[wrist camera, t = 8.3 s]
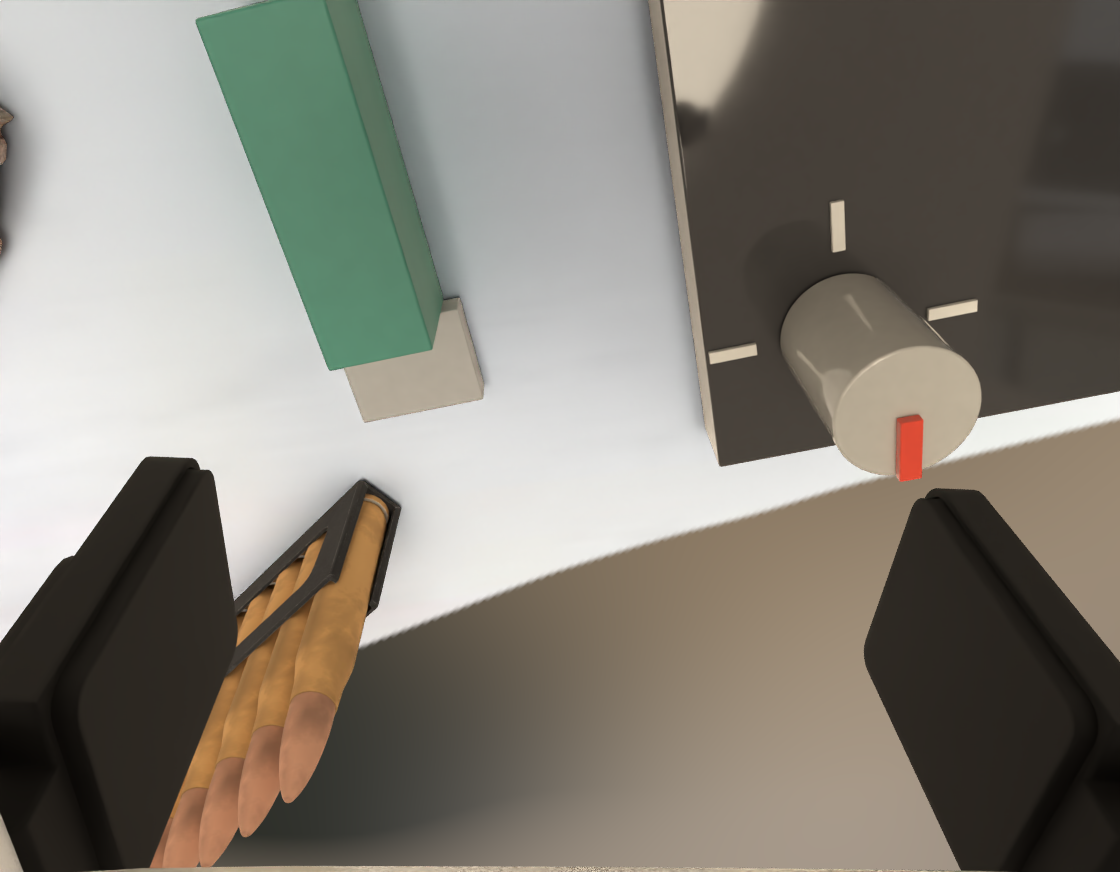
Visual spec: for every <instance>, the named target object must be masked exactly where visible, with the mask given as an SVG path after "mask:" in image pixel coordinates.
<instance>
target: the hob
mask: <svg viewBox="0 0 1120 872" xmlns="http://www.w3.org/2000/svg"><path fill="white" fill-rule="evenodd" d="M648 4H649V11H650V19H651V26H652V34H653V41H654V49H655V56H656V64H657V71H658V79H659V86H660V94H661V101H662V109H663V116H664V124H665V131H666V139H667V146H668V154H669V161H670V169H671V176H672V183H673V191H674V198H675V206H676V213H677V221H678V228H679V236H680V243H681V251H682V258H683V266H684V273H685V281H686V288H687V296H688V303H689V311H690V318H691V326H692V333H693V340H694V348H695V355H696V363H697V370H698V378H699V385H700V393H701V400H702V408H703V415H704V423H705V429H706V432H707V434H708V437H709V440H710V442H711V445H712V448H713V451H714V453H715V456H716V459H717V461H718V464H719V466H721V467H723V466H728V465H733V464H738V463H744V462H749V461H754V460H759V459H765V458H770V457H775V456H781V455H786V454H791V453H796V452H802V451H807V450H812V449H817V448H823V447H828V446H833V445H836V444H835V442H834V441H833V439H832V438H831V436H830V434H829V433H828V431H827V429H826V428H825V426H824V425H823V423H822V421H821V420H820V418H819V416H818V415H817V413H816V411H815V410H814V408H813V407H812V405H811V403H810V402H809V400H808V398H807V397H806V395H805V394H804V392H803V390H802V389H801V387H800V385H799V384H798V382H797V381H796V379H795V377H794V376H793V374H792V372H791V371H790V369H789V367H788V366H787V364H786V362H785V360H784V358H783V355H782V351H781V345H780V337H781V330H782V326H783V323H784V320H785V318H786V315H787V313H788V312H789V310H790V308H791V307H792V305H793V304H794V303H795V301H796V300H797V299H798V298H799V297H800V296H801V295H802V294H803V293H804V292H805V291H807V290H808V289H809V288H811V287H812V286H814V285H815V284H817V283H819V282H821V281H823V280H825V279H827V278H830V277H833V276H837V275H842V274H856V273H857V274H865V275H869V276H873V277H875V278H877V279H880V280H881V281H883V282H885V283H886V284H887V285H888V286H890V287H891V288H892V289H893V290H894V291H895V292H896V293H897V294H898V295H899V296H900V297H901V298H902V299H903V300H904V301H905V302H906V303H907V304H908V305H909V306H911V307H912V308H913V309H914V310H915V311H916V312H917V313H918V314H919V315H920V316H921V317H922V318H923V319H924V320H925V321H926V322H927V323H928V324H929V325H930V326H931V327H932V328H933V329H934V330H935V331H937V332H938V333H939V334H940V335H941V336H942V337H943V338H944V339H945V340H946V341H947V342H948V343H949V344H950V345H951V346H952V347H953V348H954V349H955V350H956V351H957V352H958V353H959V354H960V355H962V356H963V357H964V358H965V359H966V360H967V361H968V362H969V363H970V365H971V366H972V367H973V368H974V370H975V372H976V374H977V376H978V379H979V381H980V386H981V407H980V411H979V415H978V418H981V417H986V416H992V415H997V414H1002V413H1007V412H1013V411H1018V410H1023V409H1028V408H1034V407H1039V406H1044V405H1050V404H1055V403H1060V402H1065V401H1071V400H1076V399H1081V398H1086V397H1092V396H1097V395H1102V394H1108V393H1113V392H1118V391H1120V0H648Z"/></svg>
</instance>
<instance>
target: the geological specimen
mask: <svg viewBox="0 0 1120 872" xmlns="http://www.w3.org/2000/svg"><path fill="white" fill-rule="evenodd" d="M12 119H13V116H12V115H10V114H9V113H8V112H6V111H5V110H4V109H2V108H1V107H0V165H1V164H3V163H4V161H5V160H6V151H7V143H6V141H5V140H4V138H3V136H2V134H1V127H2V126H3V125H4V124H6V123H8V122H9V121H11V120H12ZM1 248H2V241H1V238H0V253H1Z"/></svg>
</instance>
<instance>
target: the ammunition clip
mask: <svg viewBox="0 0 1120 872" xmlns="http://www.w3.org/2000/svg"><path fill="white" fill-rule="evenodd" d="M400 511H401V507H399V506H398V505H397V504H395V503H394V502H393V501H391V500H390V499H388V498H387V497H386V496H384V495H383V494H381V493H380V492H379V491H377V490H376V489H374V488H373V487H372V486H370V485H369V484H368V483H366V482H365V481H358V482H357V483H356V484H355V485H354V486H353V487H352V488H351V489H350V490H349V491H348V492H347V493H346V494H345V495H344V496H343V497H342V498H341V499H339V500H338V501H337V502H336V503H335V504H334V505H333V506H332V507H331V508H330V509H329V510H328V511H327V512H326V513H325V514H324V515H323V516H322V517H321V518H320V519H319V520H318V521H317V522H316V523H315V524H314V525H313V526H312V527H311V528H310V529H309V530H307V531H306V532H305V533H304V534H303V535H302V536H301V537H300V538H299V539H298V540H297V541H296V542H295V543H294V544H293V545H292V546H291V547H290V548H289V549H288V550H287V551H286V552H285V553H284V554H283V555H282V556H281V557H280V558H279V559H278V560H277V561H275V562H274V563H273V564H272V565H271V566H270V567H269V568H268V569H267V570H266V571H265V572H264V573H263V574H262V575H261V576H260V577H259V578H258V579H257V580H256V581H255V582H254V583H253V584H252V585H251V586H250V587H249V588H248V589H247V590H246V591H244V592H243V593H242V594H241V595H240V596H239V597H238V598H237V599H236V600H235V601H234V605H235V612H236V618H237V625H238V637H237V644H236V649H235V652H234V655H233V658H232V661H231V663H230V666H229V668H228V671H227V673H226V676H225V678H224V681H223V683H222V686H221V688H220V691H219V693H218V696H217V698H216V701H215V704H214V706H213V709H212V711H211V714H210V716H209V719H208V721H207V724H206V726H205V729H204V731H203V734H202V736H201V739H200V741H199V744H198V747H197V749H196V752H195V754H194V757H193V759H192V762H191V764H190V767H189V769H188V772H187V774H186V777H185V779H184V782H183V785H182V787H181V790H180V792H179V795H178V797H177V800H176V802H175V805H174V807H173V810H172V812H171V815H170V817H169V820H168V822H167V825H166V828H165V830H164V833H163V835H162V838H161V840H160V843H159V845H158V848H157V850H156V853H155V855H154V858H153V860H152V863H151V865H150V868H194V867H196V866H197V864H198V863H199V861H200V864H201V866H202V867H211V866H212V865H213V864H214V863H215V862H216V861H217V860H218V858H219V857H220V856H221V855H222V853H223V852H224V851H225V849H226V847H227V846H228V844H229V843H230V841H231V840H232V838H233V836H234V834H235V832H236V831H237V829H238V827H239V828H240V831H241V834H242V836H243V837H248V836H249V835H251V834H252V833H253V832H254V831H255V830H256V829H257V827H258V826H259V825H260V824H261V822H262V821H263V820H264V818H265V816H266V815H267V813H268V811H269V810H270V808H271V807H272V805H273V803H274V801H275V799H276V797H277V795H278V793H279V791H280V790H281V793H282V798H283V799H284V801H285V802H286V803H290V802H292V801H293V800H294V799H295V798H296V797H297V796H298V795H299V794H300V793H301V791H302V790H303V789H304V787H305V786H306V784H307V782H308V781H309V779H310V777H311V776H312V774H313V772H314V770H315V768H316V766H317V764H318V762H319V759H320V757H321V755H322V753H323V750H324V747H325V745H326V742H327V739H328V737H329V734H330V730H331V726H332V723H333V719H334V715H335V713H336V711H337V708H338V704H339V701H340V698H341V695H342V691H343V689H344V687H345V685H346V683H347V681H348V679H349V677H350V675H351V672H352V671H353V668H354V664H355V659H356V656H357V652H358V647H359V643H360V639H361V635H362V630H363V626H364V622H365V618H366V617H367V616H368V615H369V614H370V613H372V612H373V611H374V610H375V609H376V608H377V607H378V604H379V600H380V596H381V592H382V588H383V583H384V579H385V575H386V571H387V566H388V562H389V558H390V554H391V549H392V545H393V541H394V537H395V533H396V528H397V524H398V520H399V516H400Z"/></svg>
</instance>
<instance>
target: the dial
mask: <svg viewBox="0 0 1120 872" xmlns="http://www.w3.org/2000/svg"><path fill="white" fill-rule="evenodd" d="M780 345H781V351H782V355H783V358H784V360H785V362H786V364H787V366H788V367H789V369H790V371H791V372H792V374H793V376H794V377H795V379H796V381H797V382H798V384H799V385H800V387H801V389H802V390H803V392H804V394H805V395H806V397H807V398H808V400H809V402H810V403H811V405H812V407H813V408H814V410H815V411H816V413H817V415H818V416H819V418H820V420H821V421H822V423H823V425H824V426H825V428H826V429H827V431H828V433H829V434H830V436H831V438H832V439H833V441H834V442H835V444H836V446H837V447H838V449H839V450H840V452H841V453H842V455H843V456H844V457H845V458H846V459H847V460H848V461H849V462H851V463H852V464H853V465H855V466H856V467H858V468H860V469H862V470H865V471H868V472H870V473H875V474H879V475H896V477H897V478H898V480H899V481H900V482H903V481H908V480H914V479H919V478H922V469H925V468H927V467H929V466H932V465H934V464H936V463H937V462H939V461H941V460H942V459H944V458H945V457H947V456H948V455H949V454H951V453H952V452H953V451H954V450H955V449H956V448H958V446H959V445H960V444H961V443H962V442H963V441H964V440H965V439H966V437H967V436H968V435H969V433H970V432H971V430H972V428H973V427H974V425H975V422H976V420H977V418H978V415H979V411H980V407H981V386H980V381H979V379H978V376H977V374H976V372H975V370H974V368H973V367H972V366H971V365H970V363H969V362H968V361H967V360H966V359H965V358H964V357H963V356H962V355H960V354H959V353H958V352H957V351H956V350H955V349H954V348H953V347H952V346H951V345H950V344H949V343H948V342H947V341H946V340H945V339H944V338H943V337H942V336H941V335H940V334H939V333H938V332H937V331H935V330H934V329H933V328H932V327H931V326H930V325H929V324H928V323H927V322H926V321H925V320H924V319H923V318H922V317H921V316H920V315H919V314H918V313H917V312H916V311H915V310H914V309H913V308H912V307H911V306H909V305H908V304H907V303H906V302H905V301H904V300H903V299H902V298H901V297H900V296H899V295H898V294H897V293H896V292H895V291H894V290H893V289H892V288H891V287H890V286H888V285H887V284H886V283H885V282H883V281H881V280H880V279H877V278H875V277H873V276H869V275H865V274H857V273H856V274H842V275H837V276H833V277H830V278H827V279H825V280H823V281H821V282H819V283H817V284H815V285H814V286H812V287H811V288H809V289H808V290H807V291H805V292H804V293H803V294H802V295H801V296H800V297H799V298H798V299H797V300H796V301H795V303H794V304H793V305H792V307H791V308H790V310H789V312H788V313H787V315H786V318H785V320H784V323H783V326H782V330H781V337H780Z"/></svg>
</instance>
